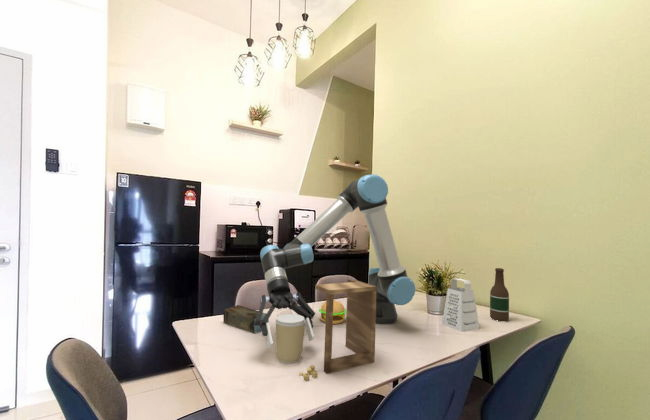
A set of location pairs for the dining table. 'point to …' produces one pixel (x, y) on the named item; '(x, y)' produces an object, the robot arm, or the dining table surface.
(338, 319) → the hamburger
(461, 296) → the grater
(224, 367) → the dining table surface
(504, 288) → the beer bottle
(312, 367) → the dice set
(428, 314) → the dining table surface
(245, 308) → the beverage carton
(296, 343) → the coffee cup
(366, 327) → the shelf alcove
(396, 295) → the robot arm
